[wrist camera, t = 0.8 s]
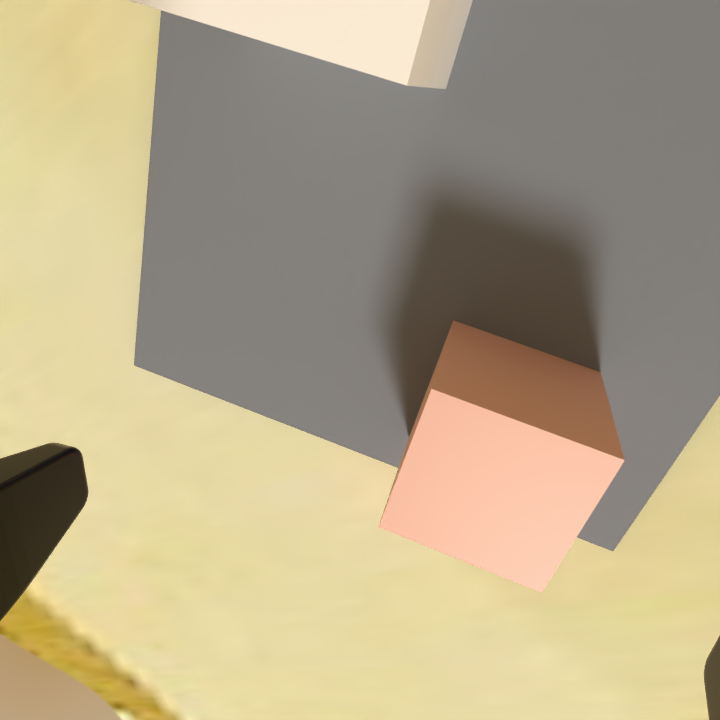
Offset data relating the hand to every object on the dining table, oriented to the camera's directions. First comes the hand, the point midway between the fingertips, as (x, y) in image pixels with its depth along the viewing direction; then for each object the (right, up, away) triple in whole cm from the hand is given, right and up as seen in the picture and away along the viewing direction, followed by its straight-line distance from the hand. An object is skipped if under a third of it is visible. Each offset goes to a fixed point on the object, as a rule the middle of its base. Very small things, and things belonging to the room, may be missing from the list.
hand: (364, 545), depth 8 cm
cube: (+5, +1, +12) cm, 13 cm away
